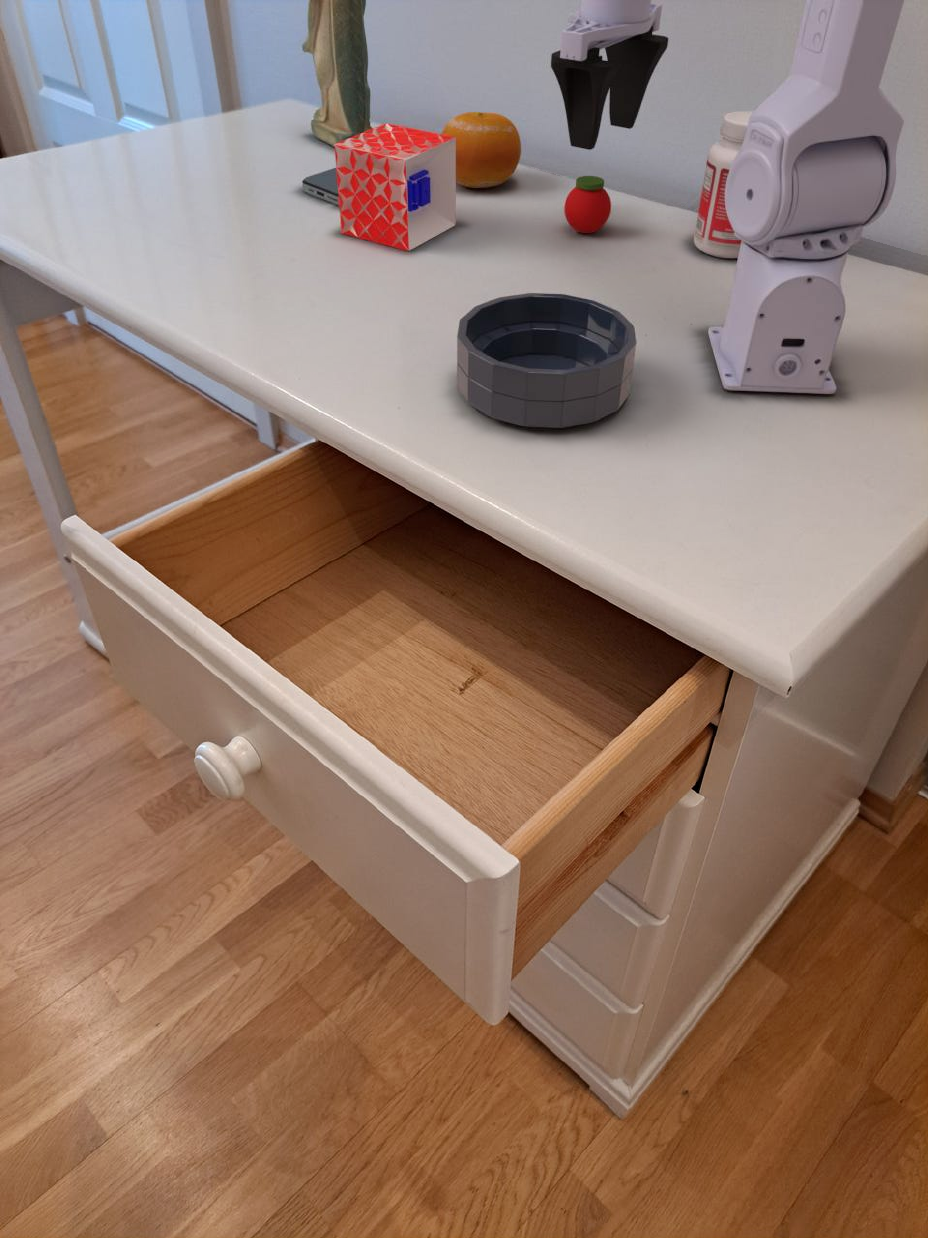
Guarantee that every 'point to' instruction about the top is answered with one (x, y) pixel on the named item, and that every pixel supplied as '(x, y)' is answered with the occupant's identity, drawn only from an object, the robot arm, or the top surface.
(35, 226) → the top surface
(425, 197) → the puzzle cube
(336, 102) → the statue
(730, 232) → the pill bottle
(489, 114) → the fruit
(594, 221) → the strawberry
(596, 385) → the bowl
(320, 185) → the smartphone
